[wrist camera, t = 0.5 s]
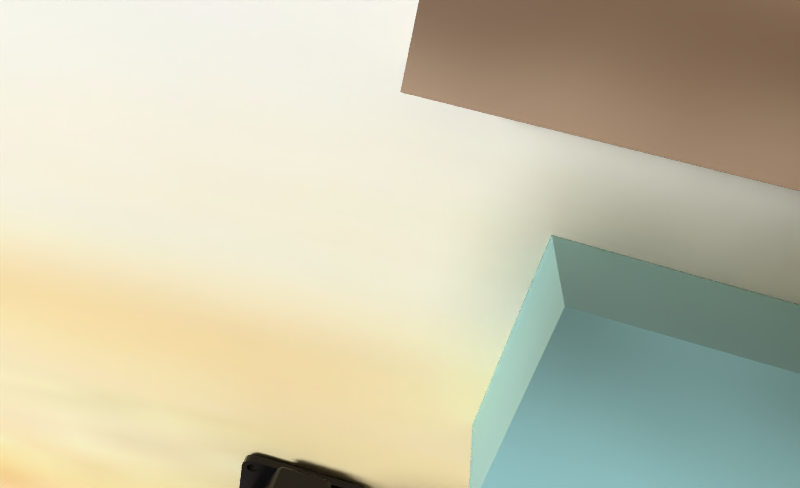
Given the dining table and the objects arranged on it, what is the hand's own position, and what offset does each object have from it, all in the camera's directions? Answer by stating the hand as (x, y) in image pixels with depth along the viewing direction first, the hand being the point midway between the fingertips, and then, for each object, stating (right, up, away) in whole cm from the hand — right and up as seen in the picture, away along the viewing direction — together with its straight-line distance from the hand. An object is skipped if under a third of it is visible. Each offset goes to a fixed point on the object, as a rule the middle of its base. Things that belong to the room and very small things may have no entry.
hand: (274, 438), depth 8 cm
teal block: (+11, -2, +15) cm, 19 cm away
